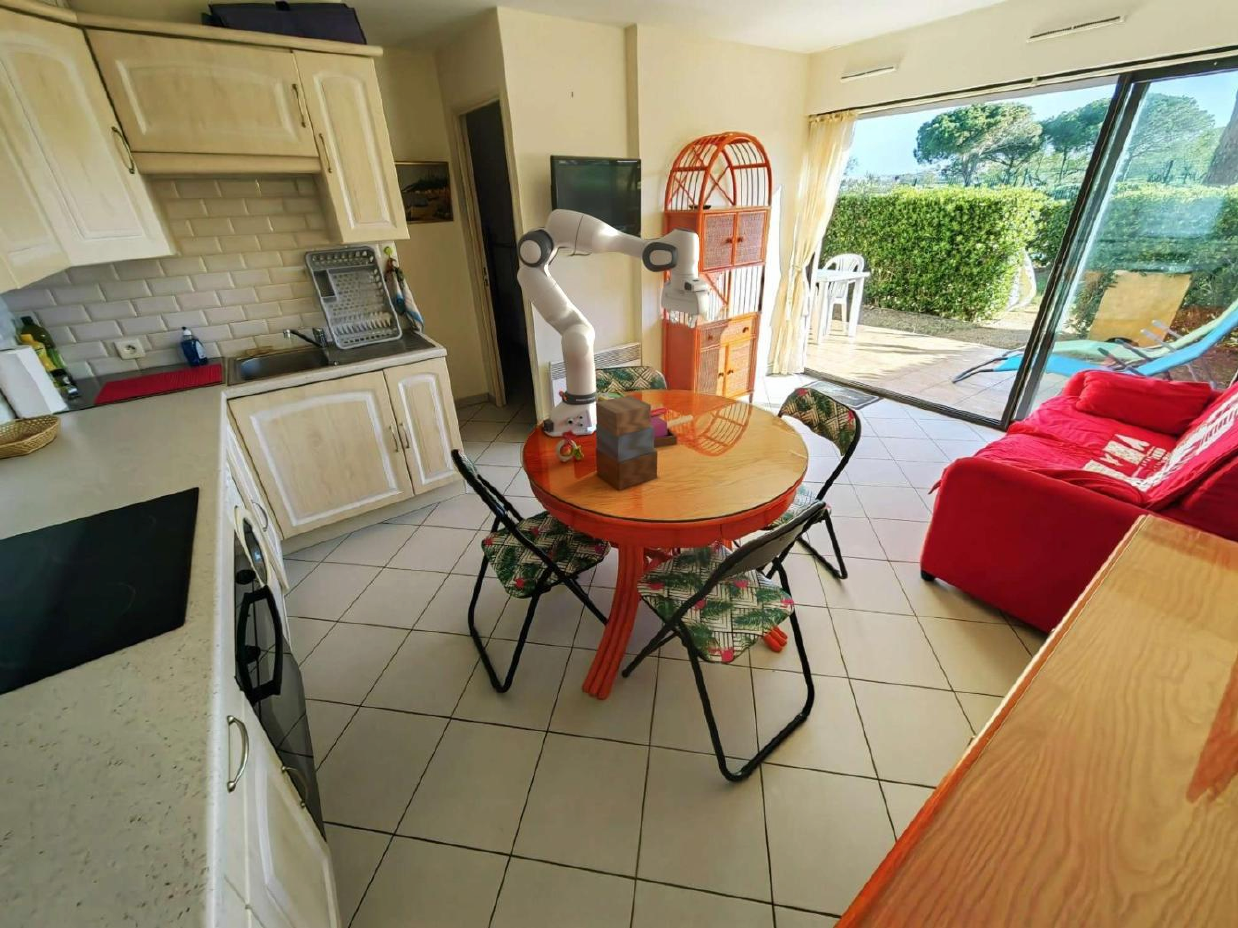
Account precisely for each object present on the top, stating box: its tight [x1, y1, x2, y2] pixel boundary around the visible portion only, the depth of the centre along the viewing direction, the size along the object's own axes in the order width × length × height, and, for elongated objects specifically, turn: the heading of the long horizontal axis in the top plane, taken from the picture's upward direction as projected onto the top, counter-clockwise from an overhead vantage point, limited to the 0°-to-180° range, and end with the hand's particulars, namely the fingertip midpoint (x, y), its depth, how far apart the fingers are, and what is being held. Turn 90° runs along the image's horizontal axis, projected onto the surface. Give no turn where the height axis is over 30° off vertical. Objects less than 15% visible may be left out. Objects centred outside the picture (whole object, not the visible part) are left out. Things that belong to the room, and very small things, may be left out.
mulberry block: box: [651, 414, 694, 439], centre depth 185 cm, size 20×7×6 cm, turn 119°
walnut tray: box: [654, 428, 678, 448], centre depth 183 cm, size 17×13×3 cm
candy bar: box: [651, 406, 669, 417], centre depth 204 cm, size 16×4×3 cm, turn 123°
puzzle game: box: [598, 390, 627, 402], centre depth 213 cm, size 12×5×20 cm
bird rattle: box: [555, 430, 585, 463], centre depth 168 cm, size 6×11×9 cm
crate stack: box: [595, 394, 658, 491], centre depth 154 cm, size 14×13×24 cm
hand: (682, 325), depth 173 cm, fingers open, 8 cm apart
